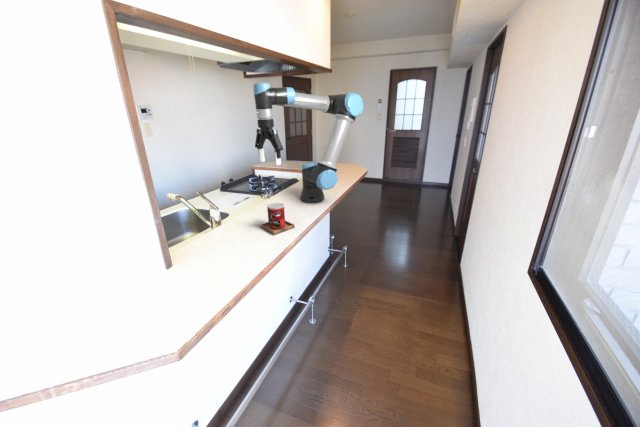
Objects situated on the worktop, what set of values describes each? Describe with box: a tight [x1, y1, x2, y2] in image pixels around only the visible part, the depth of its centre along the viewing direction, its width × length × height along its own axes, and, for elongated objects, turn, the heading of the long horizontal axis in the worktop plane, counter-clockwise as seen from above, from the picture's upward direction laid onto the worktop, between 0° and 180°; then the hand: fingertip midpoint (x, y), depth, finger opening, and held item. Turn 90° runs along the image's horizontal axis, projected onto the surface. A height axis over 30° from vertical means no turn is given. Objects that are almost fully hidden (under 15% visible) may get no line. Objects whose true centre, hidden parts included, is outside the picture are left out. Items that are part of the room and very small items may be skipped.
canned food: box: [267, 202, 286, 230], centre depth 131 cm, size 8×8×11 cm
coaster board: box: [259, 220, 295, 236], centre depth 132 cm, size 12×12×2 cm
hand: (270, 163), depth 137 cm, fingers open, 13 cm apart
